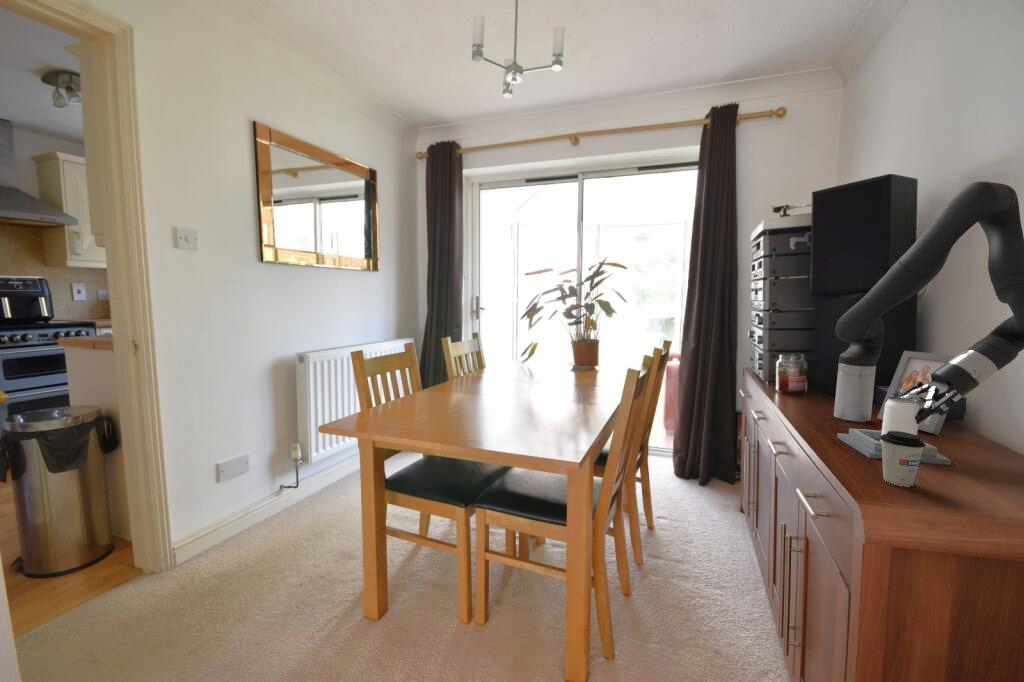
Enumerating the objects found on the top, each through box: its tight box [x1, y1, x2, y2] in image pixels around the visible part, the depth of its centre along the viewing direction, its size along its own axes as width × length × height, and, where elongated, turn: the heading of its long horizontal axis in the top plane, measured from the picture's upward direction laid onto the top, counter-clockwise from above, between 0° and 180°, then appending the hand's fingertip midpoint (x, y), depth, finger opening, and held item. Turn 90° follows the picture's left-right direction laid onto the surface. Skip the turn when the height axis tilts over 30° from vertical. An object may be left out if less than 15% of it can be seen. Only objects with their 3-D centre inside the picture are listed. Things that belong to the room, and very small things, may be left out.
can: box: [881, 396, 921, 442], centre depth 109 cm, size 6×6×12 cm
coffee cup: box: [880, 431, 926, 488], centre depth 91 cm, size 7×7×10 cm
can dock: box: [836, 427, 952, 466], centre depth 111 cm, size 16×16×3 cm
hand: (901, 416), depth 110 cm, fingers open, 8 cm apart
